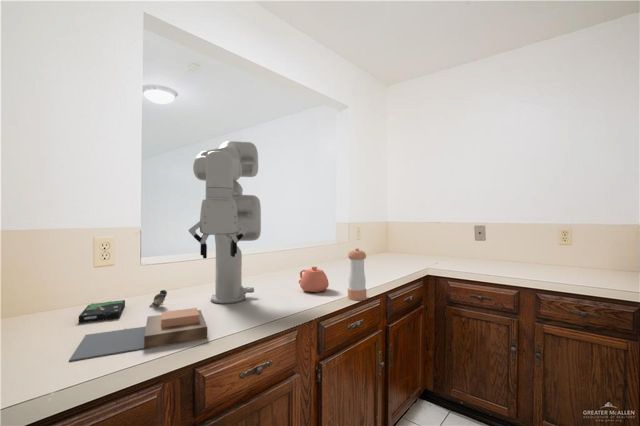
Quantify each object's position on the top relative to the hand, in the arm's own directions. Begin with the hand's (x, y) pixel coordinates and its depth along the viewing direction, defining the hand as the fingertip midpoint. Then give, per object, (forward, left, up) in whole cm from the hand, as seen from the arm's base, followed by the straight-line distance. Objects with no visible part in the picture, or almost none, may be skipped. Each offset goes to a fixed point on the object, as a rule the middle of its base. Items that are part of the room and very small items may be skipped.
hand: (218, 256), depth 87 cm
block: (+10, 0, -17) cm, 20 cm away
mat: (+25, 0, -20) cm, 32 cm away
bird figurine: (+15, -29, -20) cm, 38 cm away
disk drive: (+31, -28, -21) cm, 47 cm away
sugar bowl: (-43, -27, -20) cm, 55 cm away
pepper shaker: (-53, -8, -20) cm, 57 cm away
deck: (+11, 0, -20) cm, 23 cm away
